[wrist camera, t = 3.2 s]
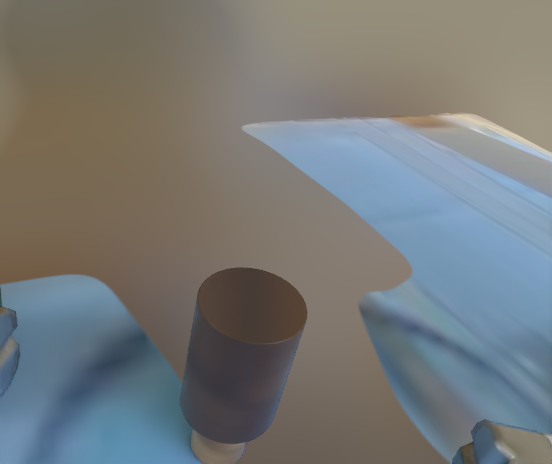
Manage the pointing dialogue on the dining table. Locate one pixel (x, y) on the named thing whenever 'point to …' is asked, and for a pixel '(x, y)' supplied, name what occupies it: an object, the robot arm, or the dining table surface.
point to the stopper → (238, 359)
